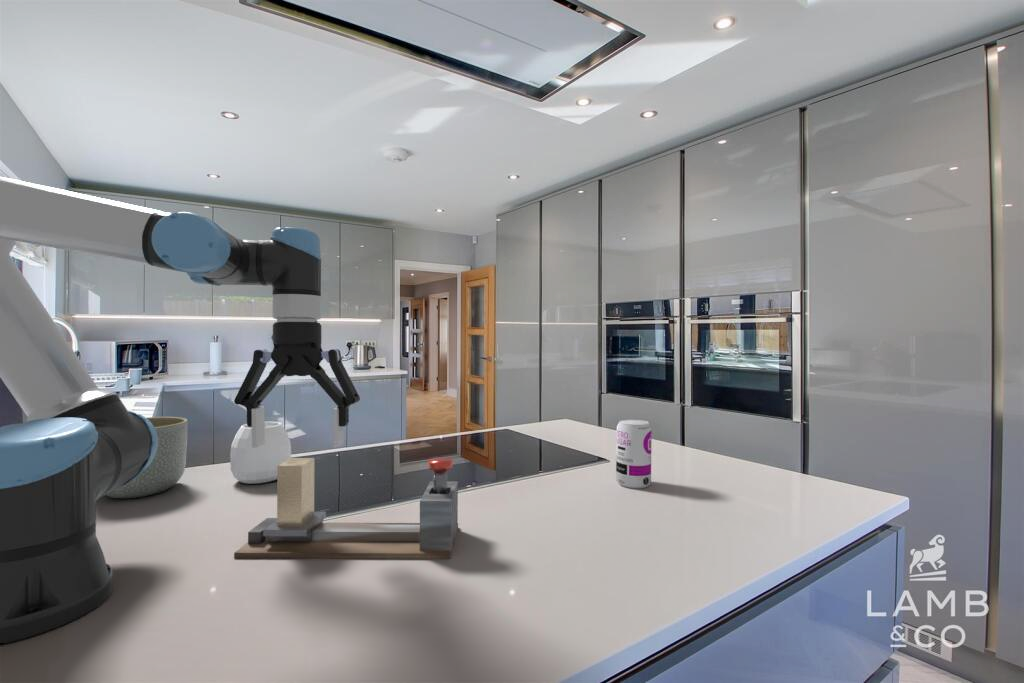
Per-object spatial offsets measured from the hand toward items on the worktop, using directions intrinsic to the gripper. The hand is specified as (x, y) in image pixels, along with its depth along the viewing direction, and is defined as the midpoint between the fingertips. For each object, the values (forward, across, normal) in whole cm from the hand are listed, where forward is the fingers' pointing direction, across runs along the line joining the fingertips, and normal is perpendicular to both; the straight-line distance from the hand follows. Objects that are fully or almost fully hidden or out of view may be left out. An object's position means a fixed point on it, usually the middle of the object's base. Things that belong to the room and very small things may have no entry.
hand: (298, 445), depth 79 cm
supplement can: (+17, -66, -32) cm, 75 cm away
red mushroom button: (+10, -24, 0) cm, 26 cm away
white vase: (+16, +24, -34) cm, 45 cm away
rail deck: (+16, -10, 0) cm, 19 cm away
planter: (+16, +46, -25) cm, 55 cm away
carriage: (+15, 0, 0) cm, 15 cm away
